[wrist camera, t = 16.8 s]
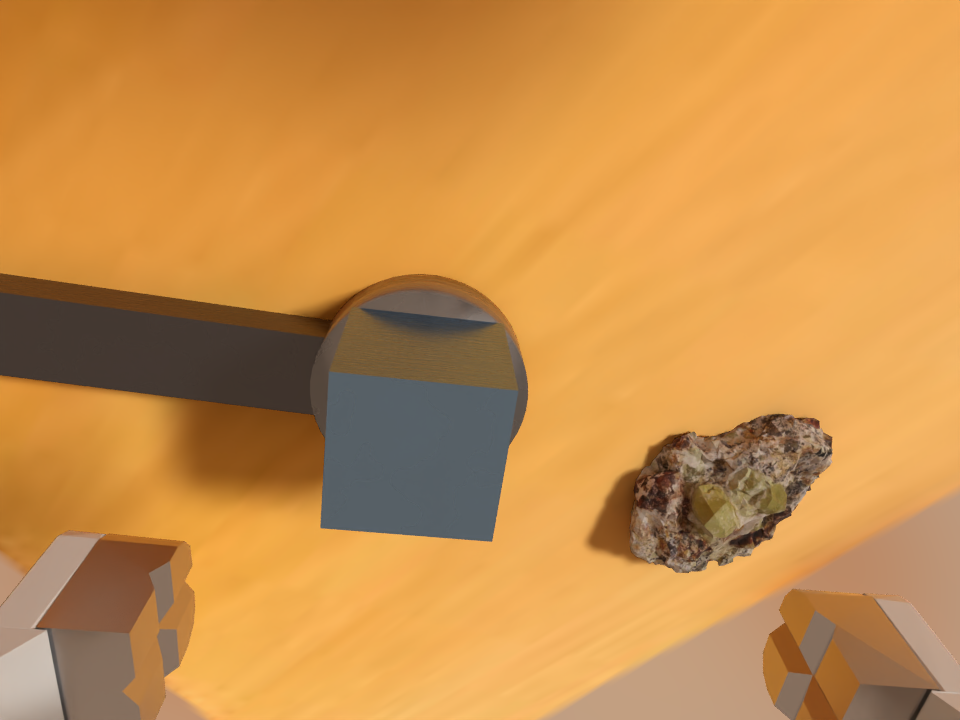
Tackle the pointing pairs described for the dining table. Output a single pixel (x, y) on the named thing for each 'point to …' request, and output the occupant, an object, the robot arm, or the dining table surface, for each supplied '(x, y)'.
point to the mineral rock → (724, 491)
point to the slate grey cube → (417, 425)
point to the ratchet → (208, 341)
